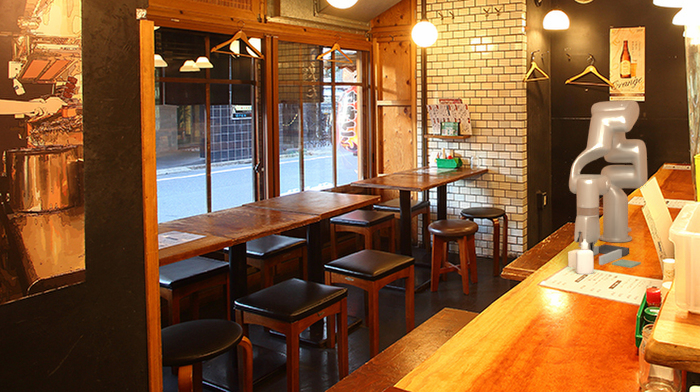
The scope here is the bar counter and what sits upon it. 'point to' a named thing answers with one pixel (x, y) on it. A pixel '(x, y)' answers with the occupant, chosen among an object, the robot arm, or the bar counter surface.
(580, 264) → the eye dropper bottle
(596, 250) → the channel
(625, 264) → the green coaster
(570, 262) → the cream block
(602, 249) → the tray
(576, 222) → the robot arm
